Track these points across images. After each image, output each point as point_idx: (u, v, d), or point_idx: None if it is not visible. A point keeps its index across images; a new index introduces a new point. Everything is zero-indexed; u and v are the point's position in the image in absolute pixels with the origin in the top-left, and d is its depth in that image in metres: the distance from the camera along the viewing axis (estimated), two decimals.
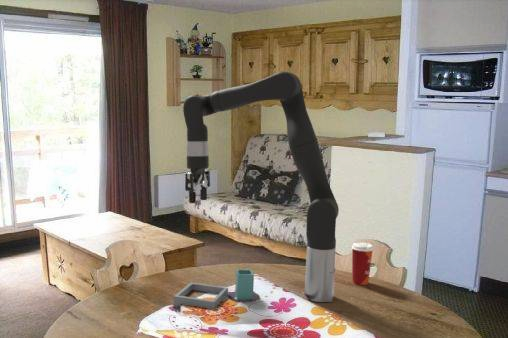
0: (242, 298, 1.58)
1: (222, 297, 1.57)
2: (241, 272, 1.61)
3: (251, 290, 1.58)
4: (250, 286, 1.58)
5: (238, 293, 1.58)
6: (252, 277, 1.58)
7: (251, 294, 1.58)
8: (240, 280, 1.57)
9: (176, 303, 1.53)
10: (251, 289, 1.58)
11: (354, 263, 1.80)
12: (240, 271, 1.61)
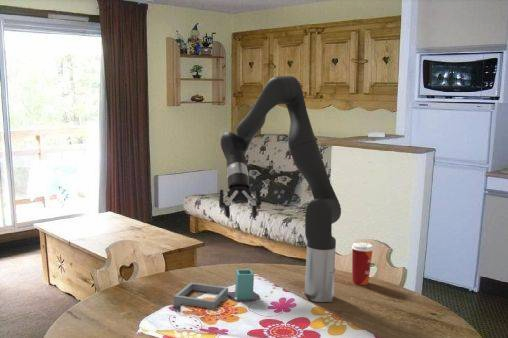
0: (242, 298, 1.58)
1: (222, 297, 1.57)
2: (241, 272, 1.61)
3: (251, 290, 1.58)
4: (250, 286, 1.58)
5: (238, 293, 1.58)
6: (252, 277, 1.58)
7: (251, 294, 1.58)
8: (240, 280, 1.57)
9: (176, 303, 1.53)
10: (251, 289, 1.58)
11: (354, 263, 1.80)
12: (240, 271, 1.61)
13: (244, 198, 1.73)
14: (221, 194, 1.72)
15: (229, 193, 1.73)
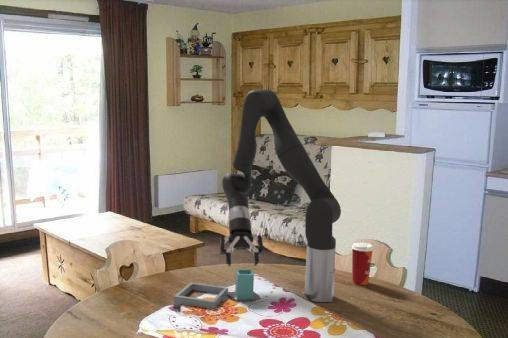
0: (242, 298, 1.58)
1: (222, 297, 1.57)
2: (241, 272, 1.61)
3: (251, 290, 1.58)
4: (250, 286, 1.58)
5: (238, 293, 1.58)
6: (252, 277, 1.58)
7: (251, 294, 1.58)
8: (240, 280, 1.57)
9: (176, 303, 1.53)
10: (251, 289, 1.58)
11: (354, 263, 1.80)
12: (240, 271, 1.61)
13: (246, 244, 1.68)
14: (222, 240, 1.67)
15: (230, 239, 1.68)
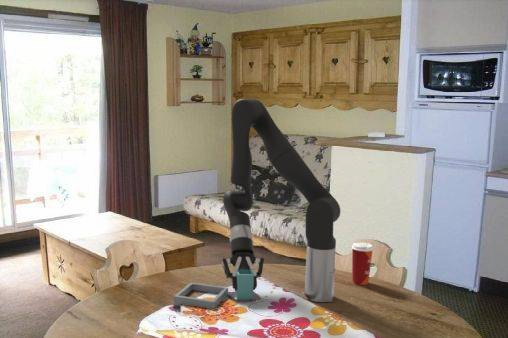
0: (242, 298, 1.58)
1: (222, 297, 1.57)
2: (241, 272, 1.61)
3: (251, 290, 1.58)
4: (250, 286, 1.58)
5: (238, 293, 1.58)
6: (252, 277, 1.58)
7: (251, 294, 1.58)
8: (240, 280, 1.57)
9: (176, 303, 1.53)
10: (251, 289, 1.58)
11: (354, 263, 1.80)
12: (240, 271, 1.61)
13: (246, 265, 1.62)
14: (225, 263, 1.61)
15: (233, 260, 1.63)
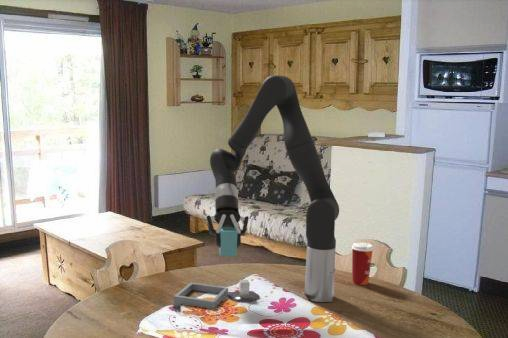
0: (225, 255, 1.56)
1: (222, 297, 1.57)
2: (225, 229, 1.59)
3: (234, 247, 1.56)
4: (233, 243, 1.56)
5: (221, 250, 1.55)
6: (236, 234, 1.55)
7: (234, 251, 1.56)
8: (223, 236, 1.55)
9: (176, 303, 1.53)
10: (234, 246, 1.56)
11: (354, 263, 1.80)
12: (224, 228, 1.59)
13: (230, 223, 1.60)
14: (209, 221, 1.59)
15: (217, 217, 1.61)
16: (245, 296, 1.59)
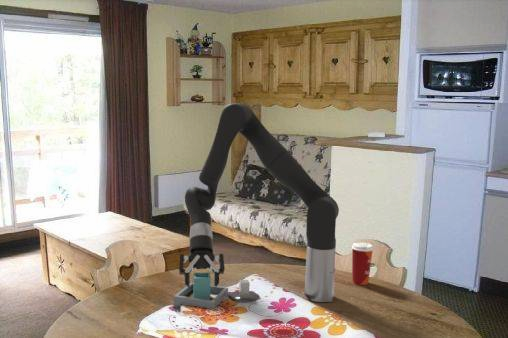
0: None
1: (222, 297, 1.57)
2: (199, 275, 1.59)
3: (208, 294, 1.56)
4: (207, 289, 1.55)
5: (194, 297, 1.55)
6: (209, 280, 1.55)
7: (208, 298, 1.56)
8: (196, 283, 1.55)
9: (176, 303, 1.53)
10: (208, 293, 1.56)
11: (354, 263, 1.80)
12: (198, 274, 1.59)
13: (206, 263, 1.60)
14: (181, 259, 1.59)
15: (190, 258, 1.60)
16: (245, 296, 1.59)
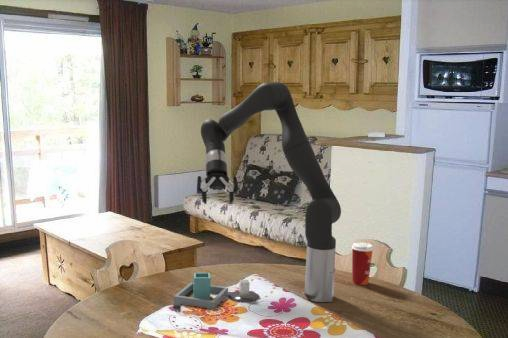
0: None
1: (222, 297, 1.57)
2: (199, 275, 1.59)
3: (208, 294, 1.56)
4: (207, 289, 1.55)
5: (194, 297, 1.55)
6: (209, 280, 1.55)
7: (208, 298, 1.56)
8: (196, 283, 1.55)
9: (176, 303, 1.53)
10: (208, 293, 1.56)
11: (354, 263, 1.80)
12: (198, 274, 1.59)
13: (221, 184, 1.75)
14: (199, 180, 1.74)
15: (207, 179, 1.75)
16: (245, 296, 1.59)
